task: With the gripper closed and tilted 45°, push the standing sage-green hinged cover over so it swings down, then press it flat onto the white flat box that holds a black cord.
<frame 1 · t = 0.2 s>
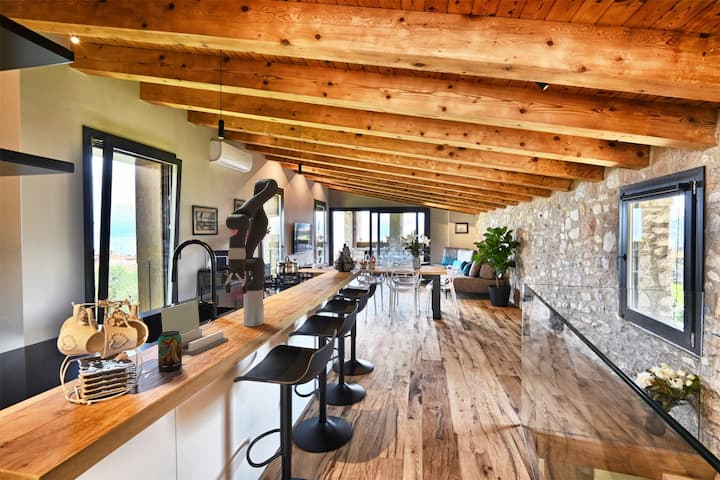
hand: (236, 293, 173), 17 cm above the countertop, tool pointing down, fingers open, 8 cm apart
beverage can: (170, 369, 126), on the countertop
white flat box: (195, 345, 152), on the countertop
duct cover: (181, 319, 154), point 10 cm above the countertop, hinge at 95.0°
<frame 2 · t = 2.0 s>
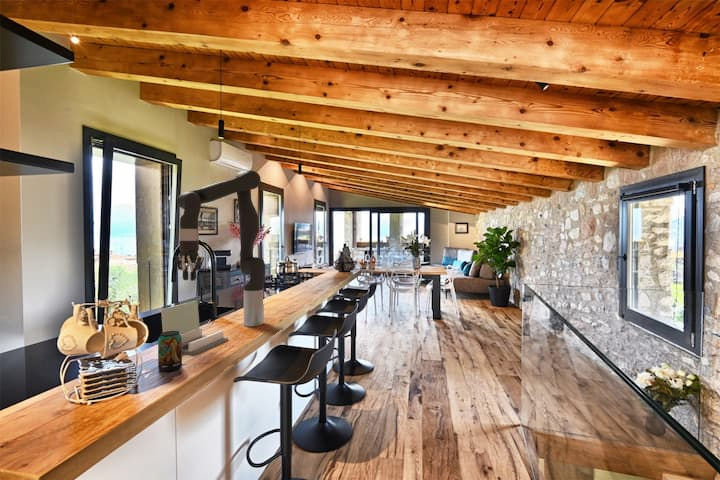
hand: (189, 280, 161), 25 cm above the countertop, tool pointing down, fingers open, 3 cm apart
nothing on the countertop moved.
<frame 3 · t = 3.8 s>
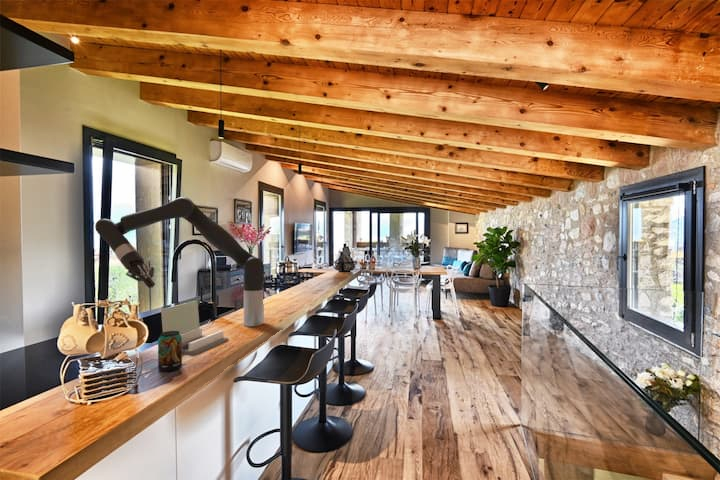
hand: (152, 286, 157), 23 cm above the countertop, tool tilted 45°, fingers closed
nothing on the countertop moved.
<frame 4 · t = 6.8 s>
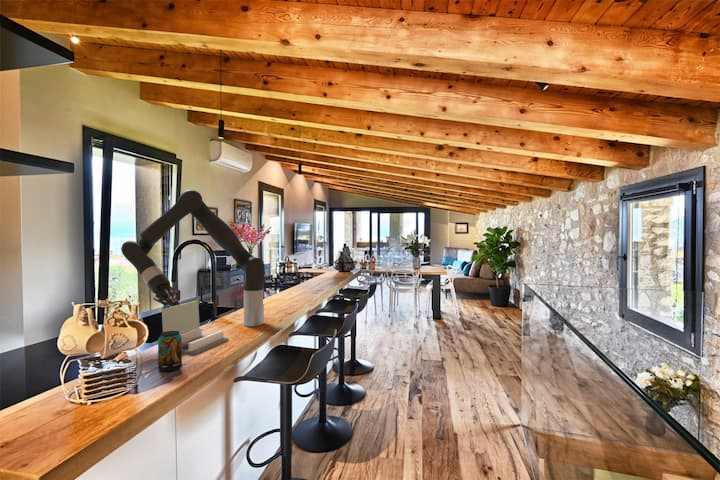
hand: (179, 310, 154), 13 cm above the countertop, tool tilted 45°, fingers closed
duct cover: (181, 319, 154), point 10 cm above the countertop, hinge at 93.4°, touching gripper
everything else where it was.
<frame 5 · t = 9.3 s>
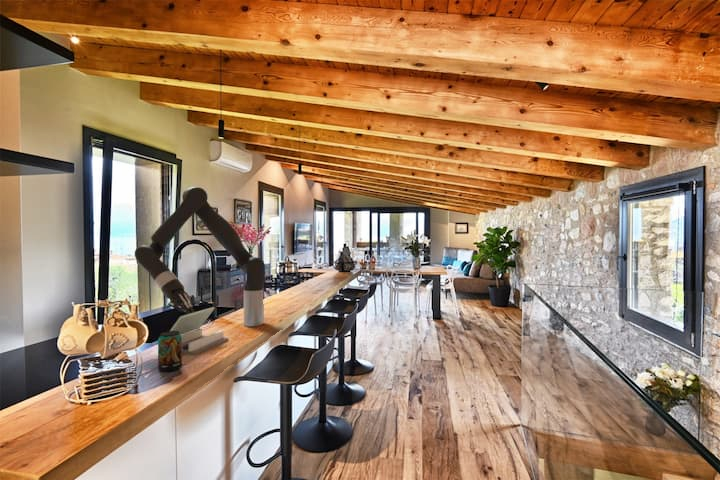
hand: (194, 316, 152), 12 cm above the countertop, tool tilted 45°, fingers closed
duct cover: (190, 322, 152), point 9 cm above the countertop, hinge at 49.9°, touching gripper
everything else where it was.
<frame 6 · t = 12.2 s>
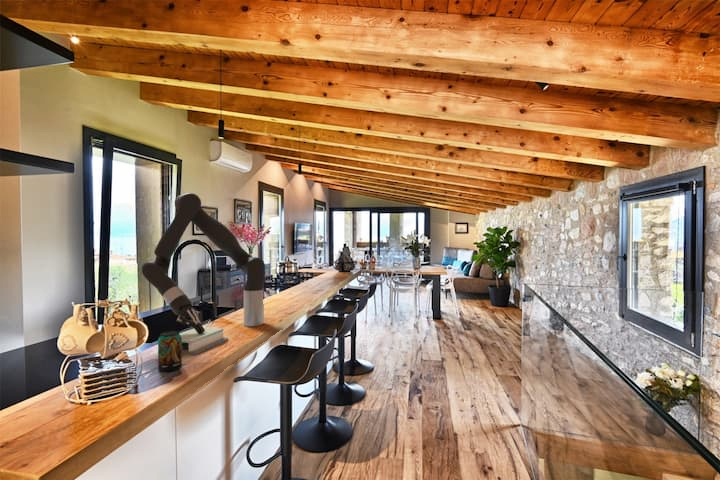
hand: (202, 332, 151), 5 cm above the countertop, tool tilted 45°, fingers closed
duct cover: (195, 334, 152), point 5 cm above the countertop, hinge at 0.1°, touching gripper
everything else where it was.
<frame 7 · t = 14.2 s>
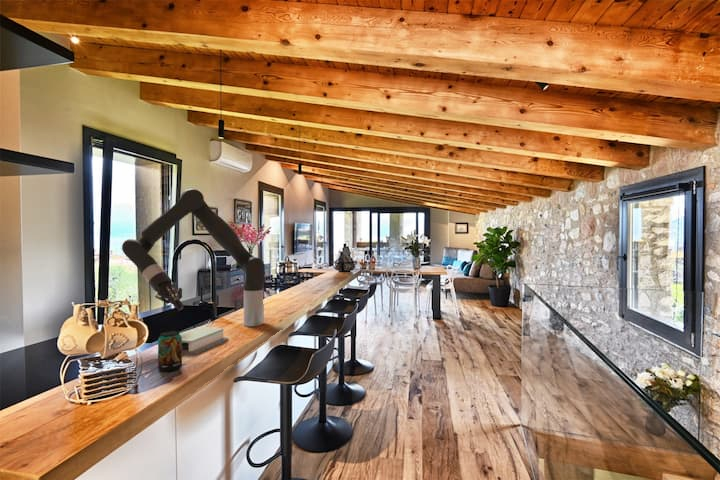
hand: (181, 308, 154), 14 cm above the countertop, tool tilted 45°, fingers closed
duct cover: (195, 334, 152), point 5 cm above the countertop, hinge at 0.0°
everything else where it was.
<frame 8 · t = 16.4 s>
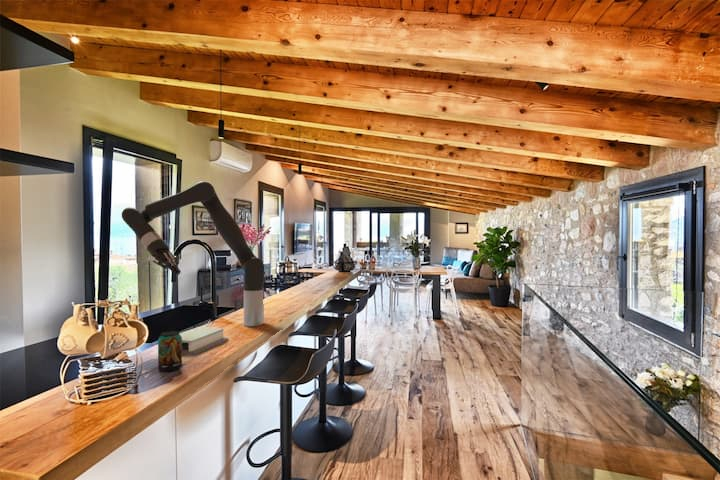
hand: (178, 273, 160), 28 cm above the countertop, tool tilted 45°, fingers closed
nothing on the countertop moved.
at the end: duct cover at +0° (first picture: +95°); beverage can moved 0.2 cm from its start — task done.
